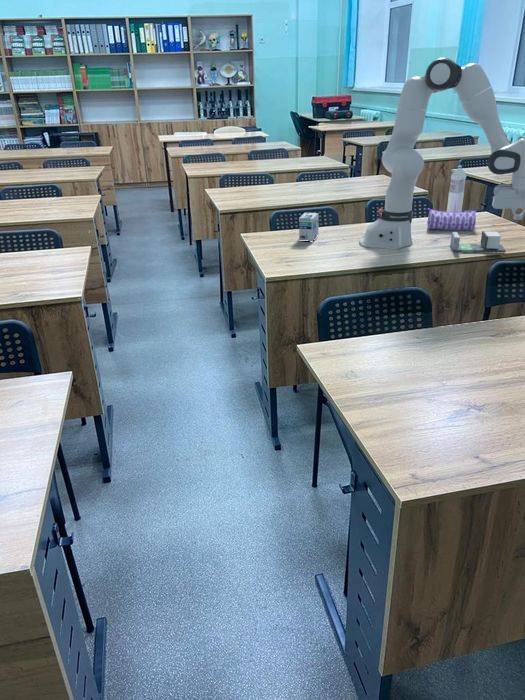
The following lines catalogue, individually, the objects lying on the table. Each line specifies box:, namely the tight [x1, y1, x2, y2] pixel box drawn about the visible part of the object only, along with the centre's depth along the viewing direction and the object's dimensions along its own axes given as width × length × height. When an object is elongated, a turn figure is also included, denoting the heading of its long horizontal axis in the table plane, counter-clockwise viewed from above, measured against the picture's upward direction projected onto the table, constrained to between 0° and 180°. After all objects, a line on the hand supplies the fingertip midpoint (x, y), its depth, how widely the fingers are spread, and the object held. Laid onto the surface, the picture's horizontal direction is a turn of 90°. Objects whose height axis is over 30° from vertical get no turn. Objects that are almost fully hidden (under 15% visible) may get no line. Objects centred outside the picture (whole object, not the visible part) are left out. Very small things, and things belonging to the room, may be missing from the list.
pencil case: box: [426, 207, 478, 231], centre depth 239 cm, size 22×9×10 cm, turn 79°
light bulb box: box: [298, 212, 320, 241], centre depth 234 cm, size 11×7×11 cm, turn 161°
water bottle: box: [446, 165, 467, 212], centre depth 252 cm, size 7×7×25 cm
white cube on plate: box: [480, 230, 502, 249], centre depth 210 cm, size 6×8×5 cm, turn 170°
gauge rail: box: [449, 231, 506, 254], centre depth 212 cm, size 20×8×6 cm, turn 80°
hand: (517, 219), depth 205 cm, fingers closed
